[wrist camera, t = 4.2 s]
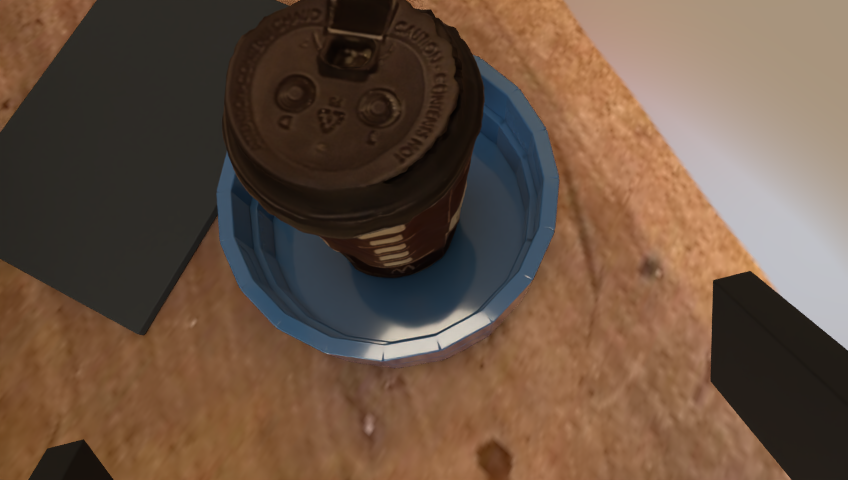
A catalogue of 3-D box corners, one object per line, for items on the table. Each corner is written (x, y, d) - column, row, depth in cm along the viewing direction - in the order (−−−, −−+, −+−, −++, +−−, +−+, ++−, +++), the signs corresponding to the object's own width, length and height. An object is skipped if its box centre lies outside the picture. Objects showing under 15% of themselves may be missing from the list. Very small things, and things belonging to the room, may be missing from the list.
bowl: (204, 287, 29) (153, 264, 24) (341, 56, 32) (319, -4, 28) (467, 422, 26) (467, 426, 22) (588, 154, 30) (611, 106, 25)
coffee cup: (414, 113, 31) (376, -86, 18) (514, 225, 28) (550, 87, 16) (283, 210, 30) (150, 70, 17) (377, 334, 27) (301, 277, 15)
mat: (-57, 225, 31) (-67, 222, 31) (141, -47, 36) (135, -54, 35) (144, 335, 29) (137, 334, 28) (331, 26, 33) (329, 20, 33)
